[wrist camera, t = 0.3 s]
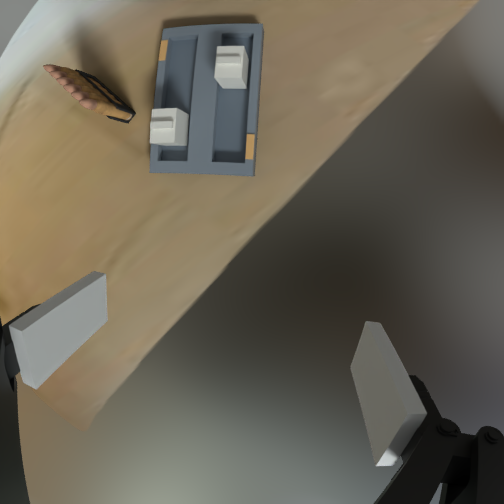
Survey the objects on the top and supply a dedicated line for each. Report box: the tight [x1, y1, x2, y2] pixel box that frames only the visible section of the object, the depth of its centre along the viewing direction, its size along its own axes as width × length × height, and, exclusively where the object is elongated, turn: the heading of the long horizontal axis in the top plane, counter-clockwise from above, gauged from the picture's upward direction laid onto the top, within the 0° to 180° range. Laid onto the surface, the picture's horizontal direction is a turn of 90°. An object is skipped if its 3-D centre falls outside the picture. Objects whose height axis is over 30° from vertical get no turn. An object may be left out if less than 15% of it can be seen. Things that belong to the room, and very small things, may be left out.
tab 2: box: [214, 46, 249, 89], centre depth 32 cm, size 4×3×6 cm
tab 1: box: [150, 108, 189, 146], centre depth 35 cm, size 4×3×6 cm
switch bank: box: [150, 24, 264, 176], centre depth 36 cm, size 20×13×3 cm, turn 177°
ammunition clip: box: [43, 64, 136, 123], centre depth 33 cm, size 11×2×12 cm, turn 47°
